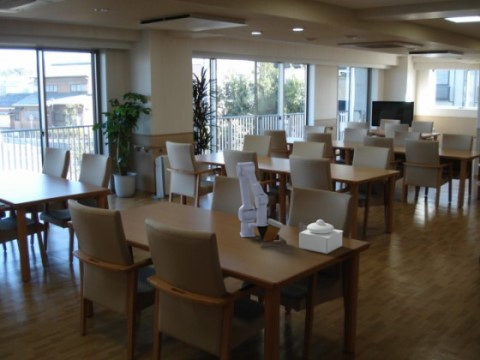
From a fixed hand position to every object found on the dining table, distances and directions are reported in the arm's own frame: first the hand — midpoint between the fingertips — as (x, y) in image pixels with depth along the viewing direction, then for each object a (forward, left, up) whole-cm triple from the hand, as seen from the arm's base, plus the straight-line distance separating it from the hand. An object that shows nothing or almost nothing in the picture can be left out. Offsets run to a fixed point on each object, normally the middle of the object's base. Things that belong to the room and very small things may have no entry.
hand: (261, 238), depth 312 cm
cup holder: (0, +5, -2) cm, 6 cm away
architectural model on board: (-8, +29, -3) cm, 30 cm away
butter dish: (+14, +31, -3) cm, 34 cm away
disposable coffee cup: (0, +3, -1) cm, 4 cm away
